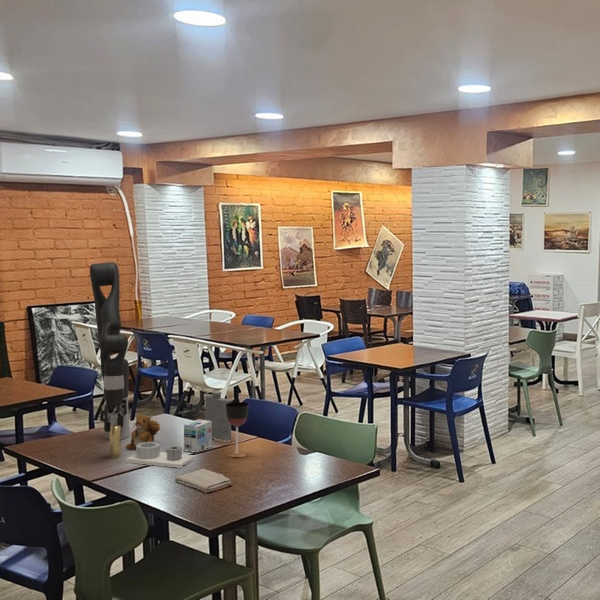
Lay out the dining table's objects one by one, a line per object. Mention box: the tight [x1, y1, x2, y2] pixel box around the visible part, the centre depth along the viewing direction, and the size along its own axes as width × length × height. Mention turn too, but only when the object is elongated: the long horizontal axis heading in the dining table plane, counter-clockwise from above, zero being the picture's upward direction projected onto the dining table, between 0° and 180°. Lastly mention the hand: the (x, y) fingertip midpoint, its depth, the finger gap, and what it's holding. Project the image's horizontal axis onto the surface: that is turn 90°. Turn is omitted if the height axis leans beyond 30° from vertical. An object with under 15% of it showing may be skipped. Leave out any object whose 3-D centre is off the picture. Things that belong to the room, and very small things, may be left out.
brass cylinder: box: [109, 425, 122, 459], centre depth 263 cm, size 4×4×12 cm
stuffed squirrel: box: [125, 414, 161, 450], centre depth 278 cm, size 10×14×13 cm
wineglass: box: [226, 401, 249, 453], centre depth 266 cm, size 8×9×20 cm
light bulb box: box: [183, 418, 213, 453], centre depth 274 cm, size 11×7×11 cm, turn 154°
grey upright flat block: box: [204, 391, 232, 441], centre depth 289 cm, size 16×4×20 cm, turn 43°
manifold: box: [126, 441, 196, 467], centre depth 258 cm, size 22×12×6 cm, turn 72°
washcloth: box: [174, 468, 232, 490], centre depth 233 cm, size 12×18×3 cm, turn 48°
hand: (113, 429), depth 262 cm, fingers open, 8 cm apart
